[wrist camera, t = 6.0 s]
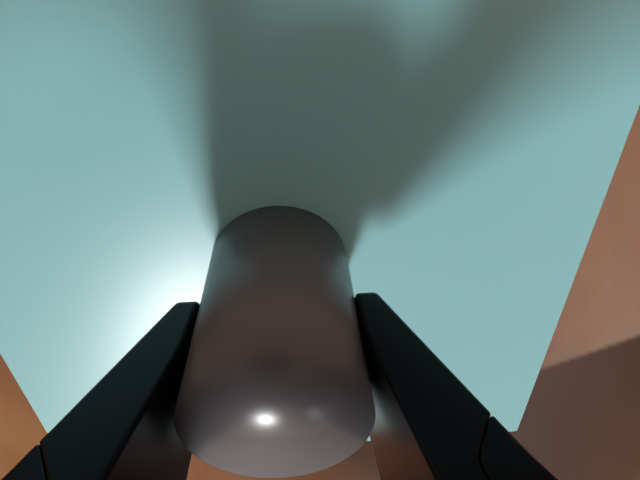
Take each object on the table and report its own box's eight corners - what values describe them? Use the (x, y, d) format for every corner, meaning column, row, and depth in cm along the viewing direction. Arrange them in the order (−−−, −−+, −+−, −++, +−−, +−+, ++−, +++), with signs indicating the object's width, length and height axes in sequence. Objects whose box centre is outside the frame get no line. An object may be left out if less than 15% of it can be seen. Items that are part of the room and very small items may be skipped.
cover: (71, 442, 14) (-8, 627, 10) (-245, -131, 6) (-1014, -228, 3) (509, 414, 15) (586, 579, 11) (703, -144, 7) (1199, -240, 3)
